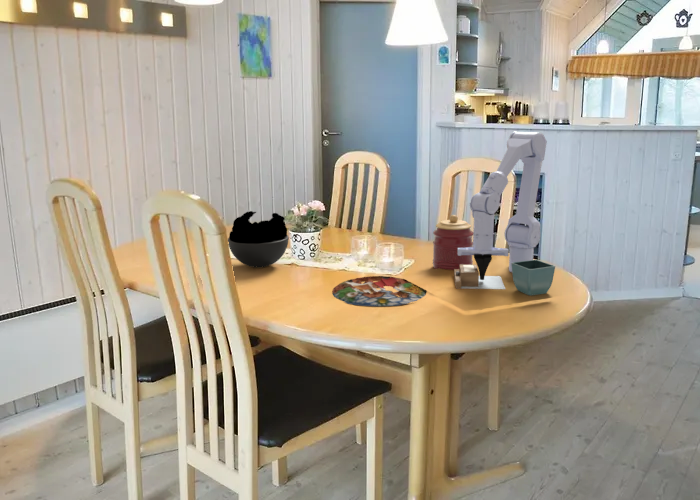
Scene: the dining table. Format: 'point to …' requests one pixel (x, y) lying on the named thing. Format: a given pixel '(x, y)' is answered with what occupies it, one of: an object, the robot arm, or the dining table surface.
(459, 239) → the canister
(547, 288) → the flower pot
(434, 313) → the dining table surface
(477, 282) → the frame
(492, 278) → the wall panel
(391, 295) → the decorative plaque
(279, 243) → the coal bowl
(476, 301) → the dining table surface
